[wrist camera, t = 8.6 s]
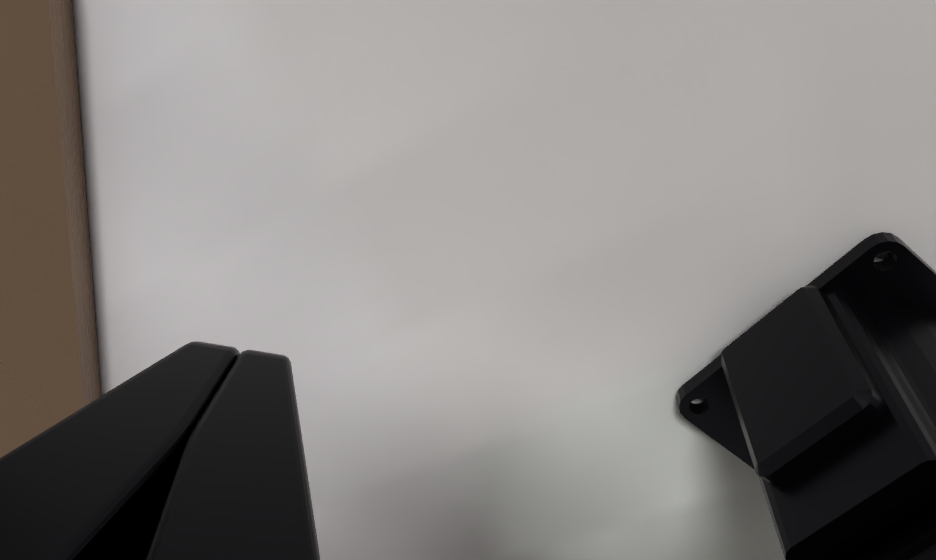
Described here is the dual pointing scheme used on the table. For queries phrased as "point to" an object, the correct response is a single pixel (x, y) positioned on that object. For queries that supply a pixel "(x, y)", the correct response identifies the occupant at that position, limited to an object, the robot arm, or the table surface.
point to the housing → (42, 226)
